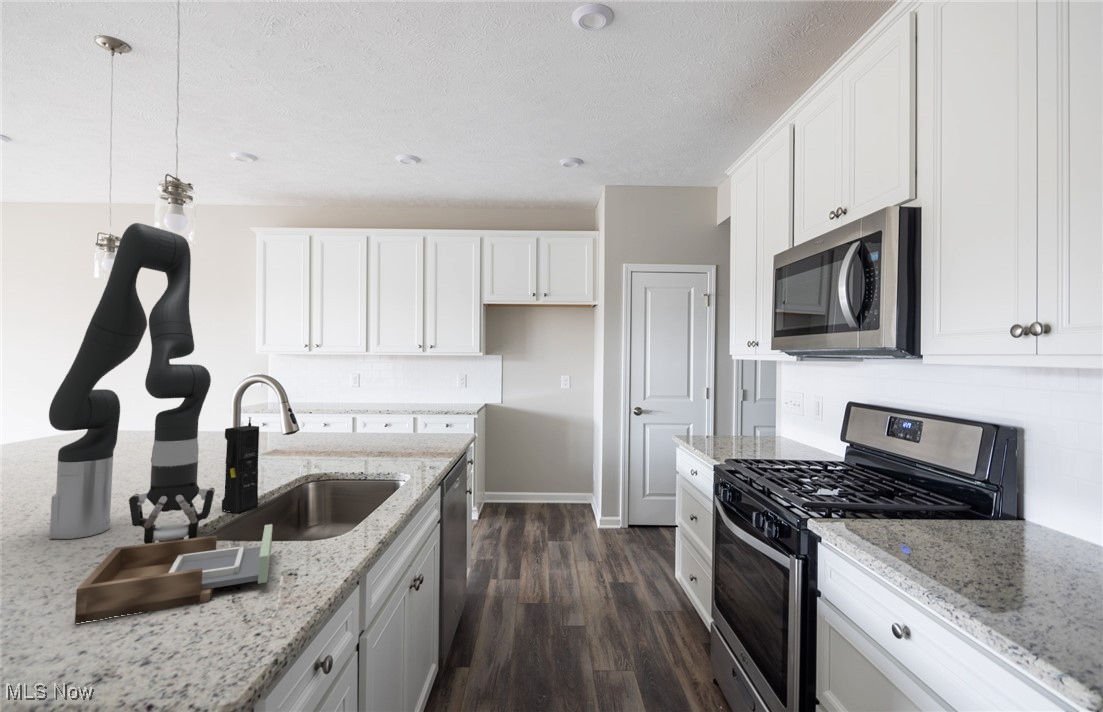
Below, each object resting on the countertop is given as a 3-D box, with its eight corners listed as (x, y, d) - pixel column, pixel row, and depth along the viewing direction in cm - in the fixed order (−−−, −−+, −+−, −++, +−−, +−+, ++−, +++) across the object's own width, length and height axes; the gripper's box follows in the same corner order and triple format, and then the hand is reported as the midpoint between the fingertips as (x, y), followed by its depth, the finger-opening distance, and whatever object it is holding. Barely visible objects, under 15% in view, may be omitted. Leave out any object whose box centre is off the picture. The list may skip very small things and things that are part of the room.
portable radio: (236, 515, 124) (240, 421, 125) (217, 513, 126) (221, 419, 126) (260, 506, 132) (264, 417, 133) (241, 504, 133) (245, 416, 134)
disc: (149, 542, 92) (149, 534, 93) (157, 532, 98) (157, 524, 98) (187, 538, 95) (187, 530, 95) (192, 528, 101) (193, 521, 101)
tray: (154, 601, 77) (156, 571, 77) (178, 559, 93) (179, 534, 93) (267, 582, 85) (268, 555, 85) (271, 547, 101) (272, 524, 101)
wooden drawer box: (74, 624, 73) (76, 589, 73) (114, 576, 88) (115, 547, 89) (209, 601, 81) (210, 569, 81) (223, 561, 97) (224, 534, 97)
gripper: (220, 455, 104) (216, 531, 103) (135, 459, 97) (131, 541, 96) (215, 461, 97) (211, 543, 97) (123, 467, 90) (119, 555, 90)
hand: (171, 542), depth 97 cm, fingers closed on disc, 6 cm apart
